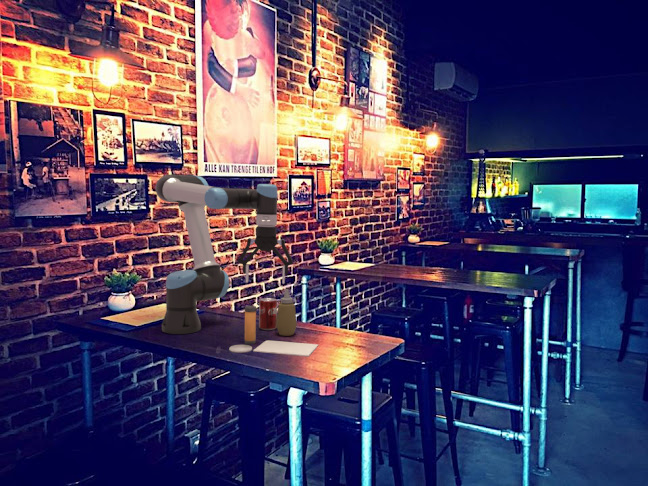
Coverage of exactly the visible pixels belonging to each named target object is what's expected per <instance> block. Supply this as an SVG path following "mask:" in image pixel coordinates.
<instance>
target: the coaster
mask: <svg viewBox="0 0 648 486" xmlns="http://www.w3.org/2000/svg"><path fill="white" fill-rule="evenodd" d="M251 351H253V346H251V345H250V344H234V345H231V346H230V347H229V352H231V353H236V354H237V353H238V354H239V353H241V354H242V353H249V352H251Z"/></svg>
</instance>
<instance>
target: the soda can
mask: <svg viewBox="0 0 648 486" xmlns="http://www.w3.org/2000/svg"><path fill="white" fill-rule="evenodd" d="M258 305H259V306H258V307H259V308H258V309H259V311H258V315H259V318H258V328H259V329H261V331H273V330H277V326H276V322H277V313H278V300H277V299H276V298H272V297H265V298H260V300H259V303H258Z"/></svg>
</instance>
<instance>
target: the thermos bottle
mask: <svg viewBox="0 0 648 486" xmlns="http://www.w3.org/2000/svg"><path fill="white" fill-rule="evenodd" d="M256 320H257V306H255V305H245V306H244V345H254V344H256V335H257V334H256V329H257V328H256V327H257V321H256Z"/></svg>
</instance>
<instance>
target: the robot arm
mask: <svg viewBox="0 0 648 486" xmlns="http://www.w3.org/2000/svg"><path fill="white" fill-rule="evenodd" d="M155 194H156V195H157V196H158V198H159V199H161V200H162V201H164V202H167V203H178V209H179V210H180V211H182V212H183V213H184V214H183V216H184V219H185V225H186V230H187V234H188V239H189V243H190V248H191V249H190V250H191V253H192V259H193V264H194V267H193V268H192V269H183V270H177V271H176V270H175V271H173V272H170V273H169V274H168V275H167V276H166V279H165V280H166V282H165V289H166V290H165V292H166V295H165V296H166V297H165V298H166V302H165V303H166V304H165V308H166V309H165V315H164V317H163V320H162V323H161V331H162V332H163V333H165V334H170V335H184V334H185V335H186V334H192V333H197V332H199V331H201V330H202V323H201V320H200V318H199V314H198V312H197V302H203V301H210V300H217V299H220V298H223V297H224V296H225V295H226V294H227V292H228V290H229V286H230V279H229V278H230V277H229V275H228V273H227V272H226V271H225V270H223V269H221V264H219V263H218V262H217V261H216V258H215V254H214V249H213V245H212V239H211V236H210V235H211V234H210V231H209V227H208V221H207V217H206V212H205V207H208V208H209V209H214V210H222V209H223V210H224V209H225V210H226V209H227V210H230V209H231V210H232V209H233V210H256V219H255V220H256V221H255V222H256V225H257V226H256V228H255V239H254V238H251V237H249V238H248V239H247V241H246V245H245V247H244V249H243V250H242V253H241V254H240V257H239V259H238V261H237V263H238V264H241V265H242V274H245V284H248V283H249V269H250V268H249V266H250V264H248V263H249V261H250V260H251V259H252V258H253V257H254V256H255V255H256V254H257V253H258V251H261V252H264V251H266V252H271V251H272V252H273V253H275V255H276V256H277V257H278V259H279V260H280V261H281V262H282V264H283V265H282V280H281V281H282V284H285V279H286V278H285V277H286V275H288V273H289V266H290V265H293V263H294V261H293V259H292V257H291V255H290V252H289V250H288V249H287V246H286V243H285V239H284V238H282V239H277V229H278V228H277V223H278V198H279V197H278V196H279V195H278V186H277V185H276V184H269V183H259V184H257V186H256V189H252V188H227V187H218V186H211V185H209V184H208V182H207V181H206V179H205V178H204V177H202V176H198V175H194V174H190V175H189V174H173V173H172V174H165V175H163V176H161V177H160V178H159V179H157V181H156V184H155ZM254 243H255V245H256V248H255V249H254V250H253V251H252V252H251V253H250V254H249V255H248V256H247V257H246V259H245V260H244V258H245V256H246V254H247V253H248V252H249V249H250V247H251V246H252V245H253V244H254ZM277 244H279V246H281V248H282V250H283V252H284V255H285V257H286V258H287V260H286V259H285V257H284V256H283V255H282V254H281V252H280V251H279V249H278V248H277V247H276V246H277Z"/></svg>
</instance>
